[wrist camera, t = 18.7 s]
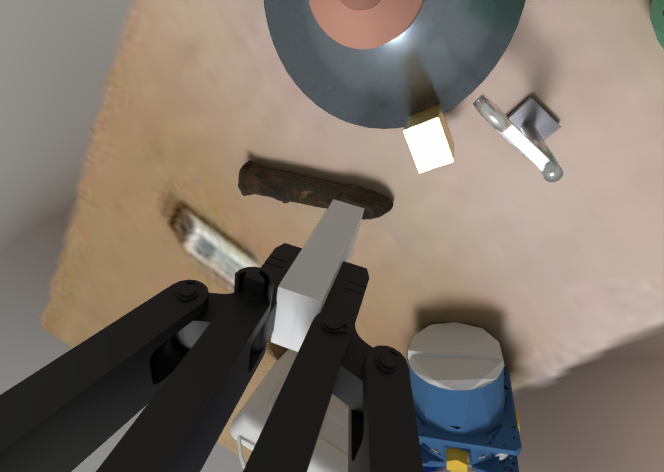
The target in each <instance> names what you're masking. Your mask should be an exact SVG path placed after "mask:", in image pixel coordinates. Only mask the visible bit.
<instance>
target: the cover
mask: <svg viewBox="0 0 664 472" xmlns="http://www.w3.org/2000/svg"><path fill="white" fill-rule="evenodd" d="M424 1H425V0H309V4H310V7H311V10H312V13H313V15H314V17H315V19H316V21H317V22H318V24H319V25H320V27H321V28H322V29H323V30H324V32H325V33H326V34H327V35H328V36H329V37H331V38H332V39H333V40H335V41H336V42H338V43H340V44H342V45H344V46H347V47H349V48H354V49H371V48H375V47H379V46H381V45H383V44H386V43H388V42H389V41H391V40H393V39H395V38H396V37H398V36H400V35H401V34H402V33H403V32H405V31H406V30H407V29H408V28H409V27H410V26H411V24H412V23H413V22H414V21H415V19H416V18H417V16H418V14H419V13H420V11H421V9H422V6H423V4H424Z"/></svg>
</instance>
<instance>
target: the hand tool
mask: <svg viewBox="0 0 664 472" xmlns="http://www.w3.org/2000/svg"><path fill="white" fill-rule="evenodd" d="M238 188H239V189H240V191H241V193H242V195H243V196H246V195H252V194H257V195H262V196H268V197H272V198H275V199H277V200H279V201H282V202H283V203H288V202H290V201H291V202H296V203H301V204H306V205H311V206H315V207H321V208H327V209H328V207H329V206H330V204H331V202H332V201H333V199H334V200H338V201H341V202H344V203H348V204H351V205H354V206H358V207H361V208H364V212H363V216H362V219H373V218H378V217H380V216H382V215H384V214H385V213H387V212H389V211H390V210H391V209H392V207H393V202H392V201H391V200H390V199H389V198H387V197H385V196H382V195H380V194H378V193H376V192H374V191H371V190H367V189H365V188H362V187H359V186H357V185H353V184H350V185H349V186H344V185H340V184H335V183H331V182H327V181H322V180H319V179H316V178H311V177H304V176H300V175H296V174H292V173H287V172H284V171H277V170H271V169H266V168H261V167H258V166H256V165H255V164H254V163H253V162H252V161H250V160H249V162H247V163H245V164H244V165H243V166H242V167H241V169H240V171H239V183H238Z"/></svg>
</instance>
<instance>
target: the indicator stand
mask: <svg viewBox="0 0 664 472" xmlns="http://www.w3.org/2000/svg"><path fill="white" fill-rule="evenodd" d="M473 105H474V106H475V108H476V109H477V110H478V112H479V113H480V114H481V115H482V116H483V117H484V118H485V119H486V120H487V121H488V122H489V123H490V124H491V125H492V126H493V127H494V128H495V129H496V130H497V131H498V132H499V133H500V134H501V135H502V136H503V137H504V138H505V139H506V140H507V141H508V142H509V143H510V144H511V145H512V146H514V147H515V148H516V149H517V150H518V151H519V152H520V153H521V154H522V155H523V156H525V155H526V156H527V157H528V158H529V159H531V160H532V161H533V162H534V163H535V164H536V165H537V166H538V167H539V168H540V170H541V172H542V174H543V176H544V178H545V180H546V181H548V182H556V181H558V180H560V179H561V178H562V176H563V170H562V169H561V167H560V165H559V164H558V162H557V161H556V159H555V157H554V156H553V154H552V153H551V151H550V149H549V148H548V146H547V145H546V143H545V141H544V140H545V139H546V138H548V137H549V136H550V135H551V134H553V133H554V132H555V131H556V130H557V129H559V128H560V127H561V126H560V125H559V124H558V123H557V122H556V121H555V120H554V119H553V118H552V117H551V116H550V115H549V114H548V113H547V112H546V111H545V110H544V109H543V108H542V107H541V106H540V105H539V104H538V103H537V102H536V101H535V100H534V99H533V98H532V97H531V96H529V97H528V98H527V99H526V100H525V101H524V102H523V103H522V104H520V105H519V106H518V107H517V108H516V109H515V110H514V111H513V112H512V113H510V114H509V115H508V116H506V115H505V114H504V113H503V112H502V110H501V109H500V108H499V107H498V106H497V105H496V104H495V103H493V102H492V101H491V100H490V99H489V98H488V97H487V96H485V95H484V94H482V95H481V96H480V97H479V98H478V99H477V100H476V101H475V102H474V103H473Z"/></svg>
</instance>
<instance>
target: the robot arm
mask: <svg viewBox="0 0 664 472" xmlns="http://www.w3.org/2000/svg"><path fill="white" fill-rule="evenodd" d="M363 212H364V208H361V207H358V206H354V205H351V204H348V203H344V202H341V201H338V200H334V199H333V201H332V202H331V204H330V206H329V207H328V209H327V210H326V212H325V213H324V215H323V217H322V218H321V220H320V221H319V223H318V224H317V226H316V228H315V229H314V231H313V232H312V234H311V235H310V237H309V239H308V240H307V242H306V243H305V245H304V247H303V248H299V247H296V246H292V245H289V244H286V243H284V244H282V245H280V246H278V247H277V248H275V249H274V251H273V252H272V253H271V255H270V256H269V257H268V259H267V260H266V261H265V264H263V265H262V267H261V268H259V267H246V268H243V269H240V270H239V271H238V272H236V273H235V287H234V293H231V294H218V293H209V292H208V289H207V287H206V286H205V285H204V284H203V283H201V282H199V281H196V280H184V281H179V282H177V283H175V284H173V285H171V286H170V287H168V288H166V289H165V290H163V291H162V292H160V293H159V294H157V295H156V296H154V297H152V298H151V299H149V300H148V301H146V302H145V303H143V304H142V305H140V306H138V307H137V308H135V309H134V310H132V311H131V312H129V313H127V314H126V315H124V316H123V317H121V318H120V319H118V320H117V321H115V322H113V323H112V324H110V325H109V326H107V327H106V328H104V329H103V330H101V331H99V332H98V333H96V334H95V335H93V336H92V337H90V338H88V339H87V340H85V341H84V342H82V343H81V344H79V345H78V346H76V347H74V348H73V349H71V350H70V351H68V352H67V353H65V354H64V355H62V356H60V357H59V358H57V359H56V360H54V361H53V362H51V363H50V364H48V365H47V366H45V367H43V368H42V369H40V370H39V371H37V372H35V373H34V374H32V375H31V376H29V377H28V378H26V379H25V380H23V381H21V382H20V383H18V384H17V385H15V386H14V387H12V388H10V389H9V390H7V391H6V392H4V393H3V394H1V395H0V472H71V471H72V470H73V469H75V468H76V467H77V466H78V465H79V464H80V463H81V462H83V461H84V460H85V459H86V458H87V457H88V456H89V455H90V454H92V453H93V452H94V451H95V450H96V449H97V448H98V447H99V446H101V445H102V444H103V443H104V442H105V441H106V440H107V439H109V437H111V436H112V435H113V434H114V433H115V432H116V431H117V430H119V429H120V428H121V427H122V426H123V425H124V424H125V423H127V422H128V421H129V420H130V419H131V418H132V417H133V416H135V415H136V414H137V413H138V412H139V411H140V410H141V409H142V408H144V407H145V406H146V405H147V404H148V405H147V406H146V407H145V409H144V410H143V411H142V413H141V414H140V415H139V417H138V418H137V419H136V420H135V422H134V423H133V424H132V426H131V427H130V428H129V430H128V431H127V432H126V433H125V435H124V436H123V437H122V439H121V440H120V441H119V442H118V444H117V445H116V446H115V448H114V449H113V450H112V452H111V453H110V454H109V456H108V457H107V458H106V459H105V461H104V462H103V463H102V465H101V466H100V467H99V468H98V470H97V471H96V472H200V471H201V469H202V467H203V465H204V464H205V462H206V460H207V458H208V456H209V455H210V453H211V451H212V449H213V447H214V445H215V443H216V442H217V440H218V438H219V436H220V434H221V433H222V431H223V429H224V427H225V425H226V423H227V422H228V420H229V418H230V416H231V414H232V412H233V411H234V409H235V407H236V405H237V403H238V402H239V400H240V398H241V396H242V394H243V392H244V391H245V389H246V387H247V385H248V383H249V381H250V380H251V378H252V376H253V374H254V372H255V370H256V369H257V367H258V365H259V363H260V361H261V360H262V358H263V356H264V354H265V350H266V344H267V341H268V340H269V338H270V336H271V334H272V337H271V342H272V343H275V344H277V345H280V346H283V347H286V348H288V349H291V350H294V351H297V352H298V353H297V356H296V358H295V360H294V362H293V364H292V366H291V369H290V371H289V373H288V375H287V377H286V379H285V382H284V384H283V386H282V388H281V390H280V392H279V395H278V397H277V399H276V401H275V403H274V405H273V408H272V410H271V412H270V414H269V416H268V418H267V421H266V423H265V425H264V427H263V429H262V431H261V434H260V436H259V438H258V440H257V442H256V444H255V447H254V449H253V451H252V453H251V455H250V457H249V460H248V462H247V464H246V466H245V468H244V470H243V472H307V471H308V468H309V464H310V461H311V458H312V455H313V452H314V449H315V446H316V443H317V440H318V437H319V434H320V431H321V427H322V424H323V421H324V418H325V415H326V412H327V409H328V406H329V403H330V400H331V397H332V394H333V395H335V396H336V397H337V398H338V399H340V400H341V401H342V402H344V403H345V404H346V405H347V406H349V412H348V472H424V471H423V464H422V457H421V450H420V443H419V436H418V429H417V423H416V416H415V409H414V402H413V395H412V388H411V382H410V375H409V368H408V364H407V361H406V359H405V358H404V357H403V355H402V354H401V353H400V352H398V351H397V350H395V349H394V348H391V347H388V346H376V347H374V348H373V347H371V346H370V345H368V344H367V343H365V342H364V341H363V340H362V339H361V338H360V337H359V335H358V334H357V332H356V329H355V322H356V319H357V316H358V312H359V309H360V306H361V303H362V300H363V297H364V293H365V290H366V287H367V284H368V280H369V275H368V271H367V269H366V268H363V267H360V266H357V265H354V264H351V263H349V262H350V259H351V257H352V254H353V250H354V246H355V243H356V239H357V235H358V231H359V227H360V224H361V220H362V216H363Z"/></svg>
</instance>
